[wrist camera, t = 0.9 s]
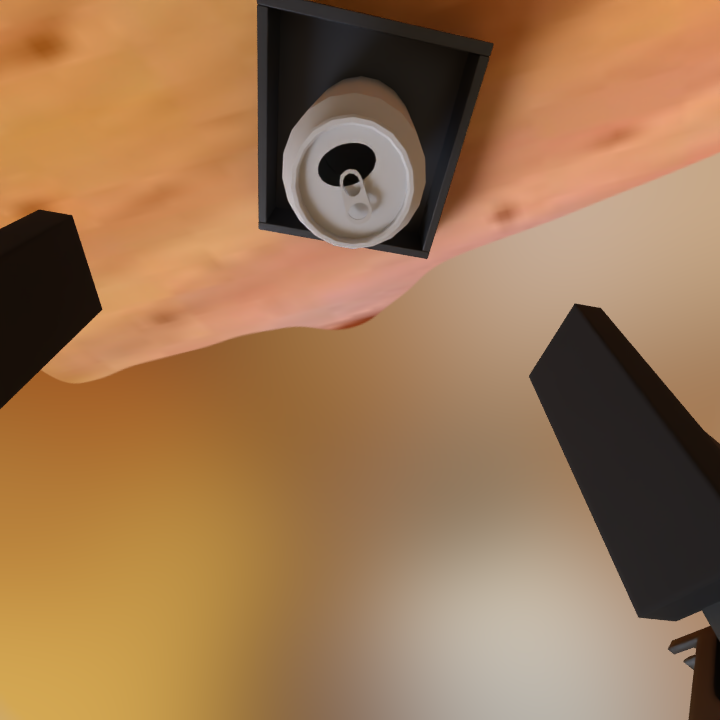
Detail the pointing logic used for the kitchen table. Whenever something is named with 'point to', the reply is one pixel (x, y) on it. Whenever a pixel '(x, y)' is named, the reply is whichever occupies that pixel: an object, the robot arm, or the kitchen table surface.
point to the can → (355, 165)
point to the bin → (372, 60)
